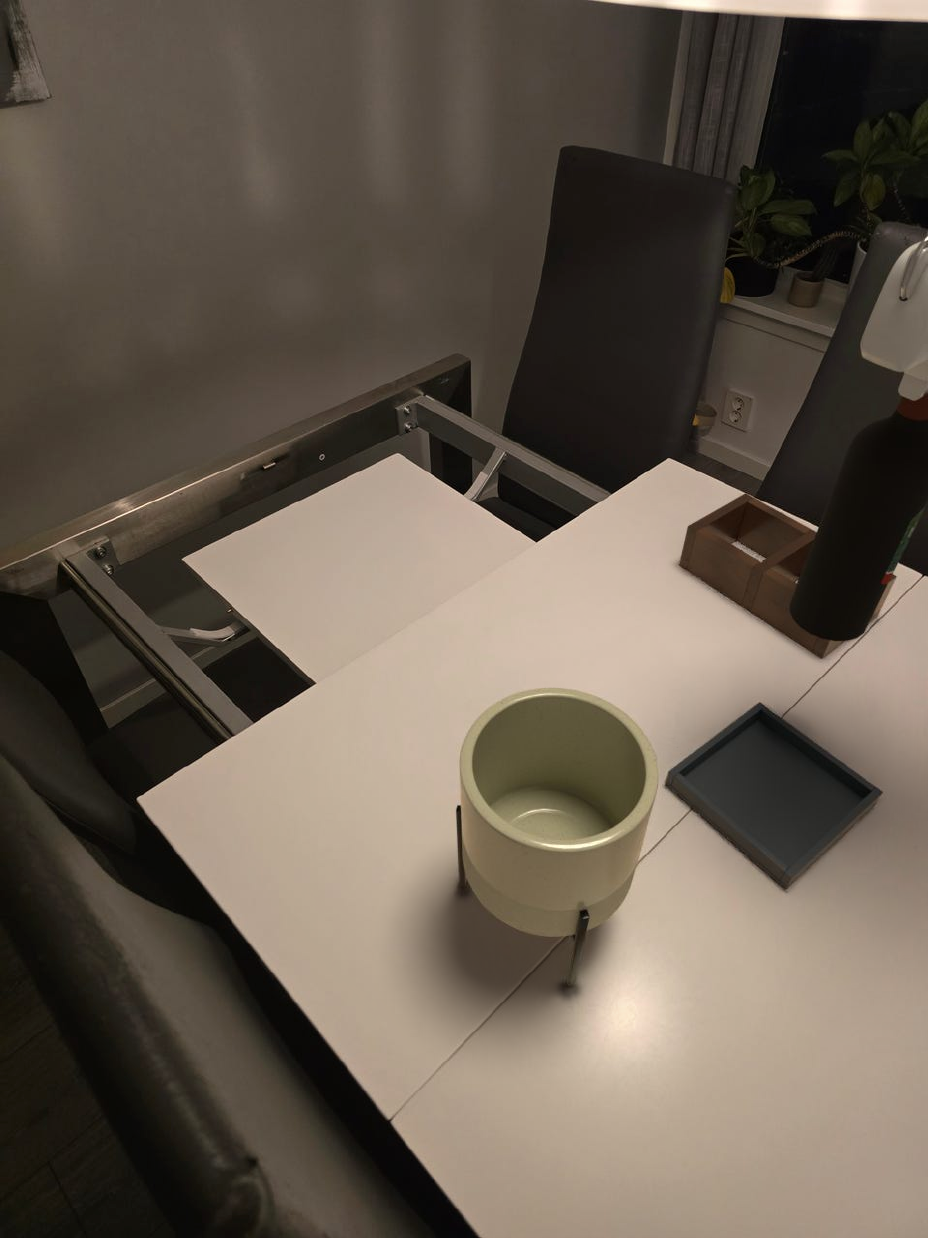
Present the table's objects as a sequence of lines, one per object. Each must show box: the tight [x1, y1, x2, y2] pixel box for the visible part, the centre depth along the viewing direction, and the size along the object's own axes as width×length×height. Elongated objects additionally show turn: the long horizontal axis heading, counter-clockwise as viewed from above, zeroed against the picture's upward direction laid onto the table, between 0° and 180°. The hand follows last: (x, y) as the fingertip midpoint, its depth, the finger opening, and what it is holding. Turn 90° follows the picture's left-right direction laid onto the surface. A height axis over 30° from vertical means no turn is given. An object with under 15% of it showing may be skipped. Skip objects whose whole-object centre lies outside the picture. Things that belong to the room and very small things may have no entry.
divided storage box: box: [678, 492, 898, 659], centre depth 106 cm, size 24×12×7 cm, turn 38°
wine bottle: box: [789, 394, 928, 642], centre depth 69 cm, size 8×8×30 cm
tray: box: [664, 701, 884, 890], centre depth 84 cm, size 16×16×2 cm
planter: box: [455, 687, 660, 988], centre depth 68 cm, size 15×16×23 cm
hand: (926, 387), depth 62 cm, fingers closed on wine bottle, 3 cm apart
